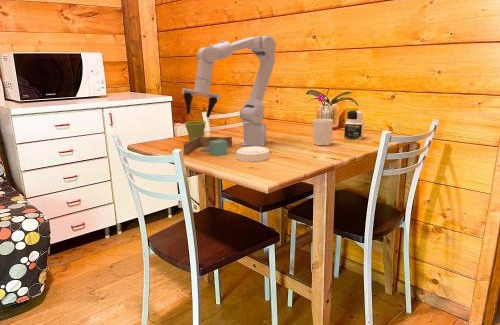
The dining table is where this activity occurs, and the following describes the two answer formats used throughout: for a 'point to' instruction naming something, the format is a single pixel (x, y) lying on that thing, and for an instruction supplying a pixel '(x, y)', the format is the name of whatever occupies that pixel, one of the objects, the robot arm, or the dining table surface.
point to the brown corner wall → (203, 143)
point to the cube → (218, 147)
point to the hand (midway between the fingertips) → (198, 115)
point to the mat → (205, 149)
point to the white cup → (322, 131)
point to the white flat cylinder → (253, 154)
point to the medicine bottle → (354, 126)
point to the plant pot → (195, 129)
